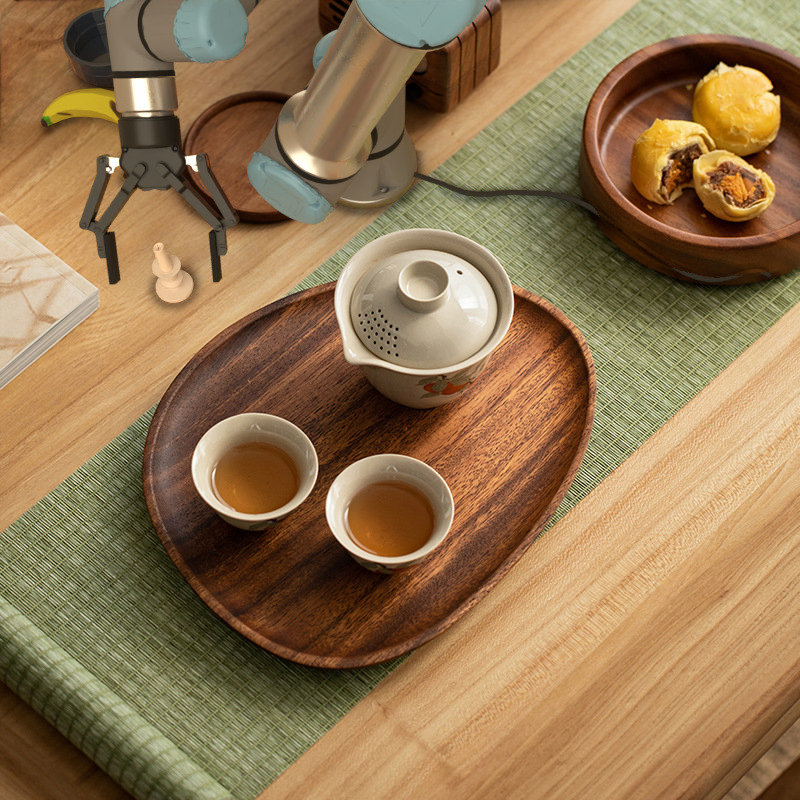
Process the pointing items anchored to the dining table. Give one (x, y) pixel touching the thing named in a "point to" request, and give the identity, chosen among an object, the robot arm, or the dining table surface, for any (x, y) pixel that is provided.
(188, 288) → the candle
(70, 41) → the bowl
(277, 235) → the dining table surface
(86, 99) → the banana
